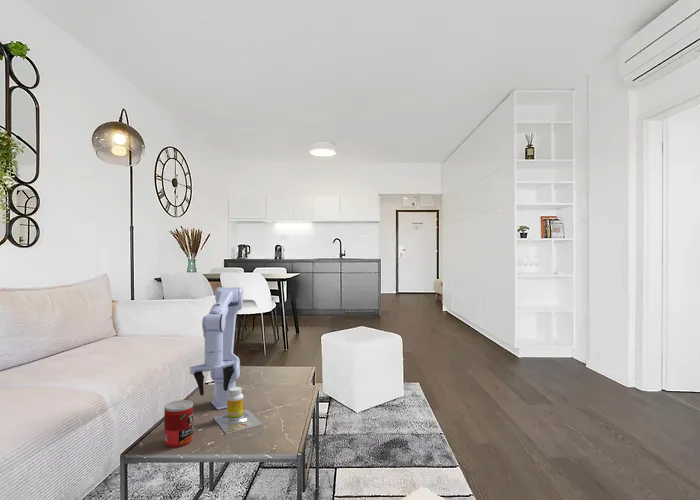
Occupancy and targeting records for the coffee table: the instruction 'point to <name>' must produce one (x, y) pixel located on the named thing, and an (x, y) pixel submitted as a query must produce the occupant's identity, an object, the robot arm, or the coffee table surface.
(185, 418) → the canned food
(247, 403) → the coffee table surface
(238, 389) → the supplement bottle
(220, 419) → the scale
